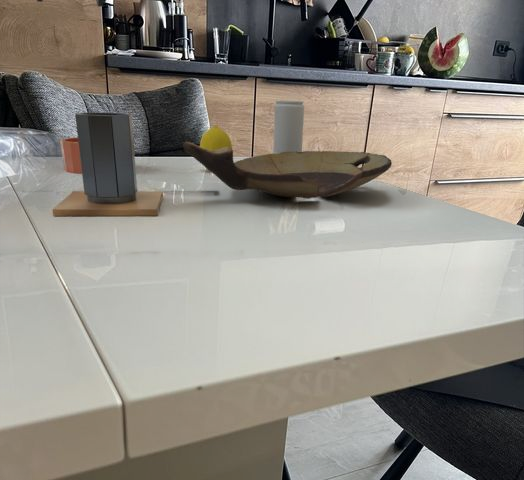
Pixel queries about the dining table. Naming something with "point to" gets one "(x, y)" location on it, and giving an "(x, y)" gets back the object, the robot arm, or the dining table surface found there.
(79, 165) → the terracotta pot
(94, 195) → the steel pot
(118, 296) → the dining table surface
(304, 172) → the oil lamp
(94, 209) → the cork trivet
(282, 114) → the beverage can
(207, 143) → the lemon
